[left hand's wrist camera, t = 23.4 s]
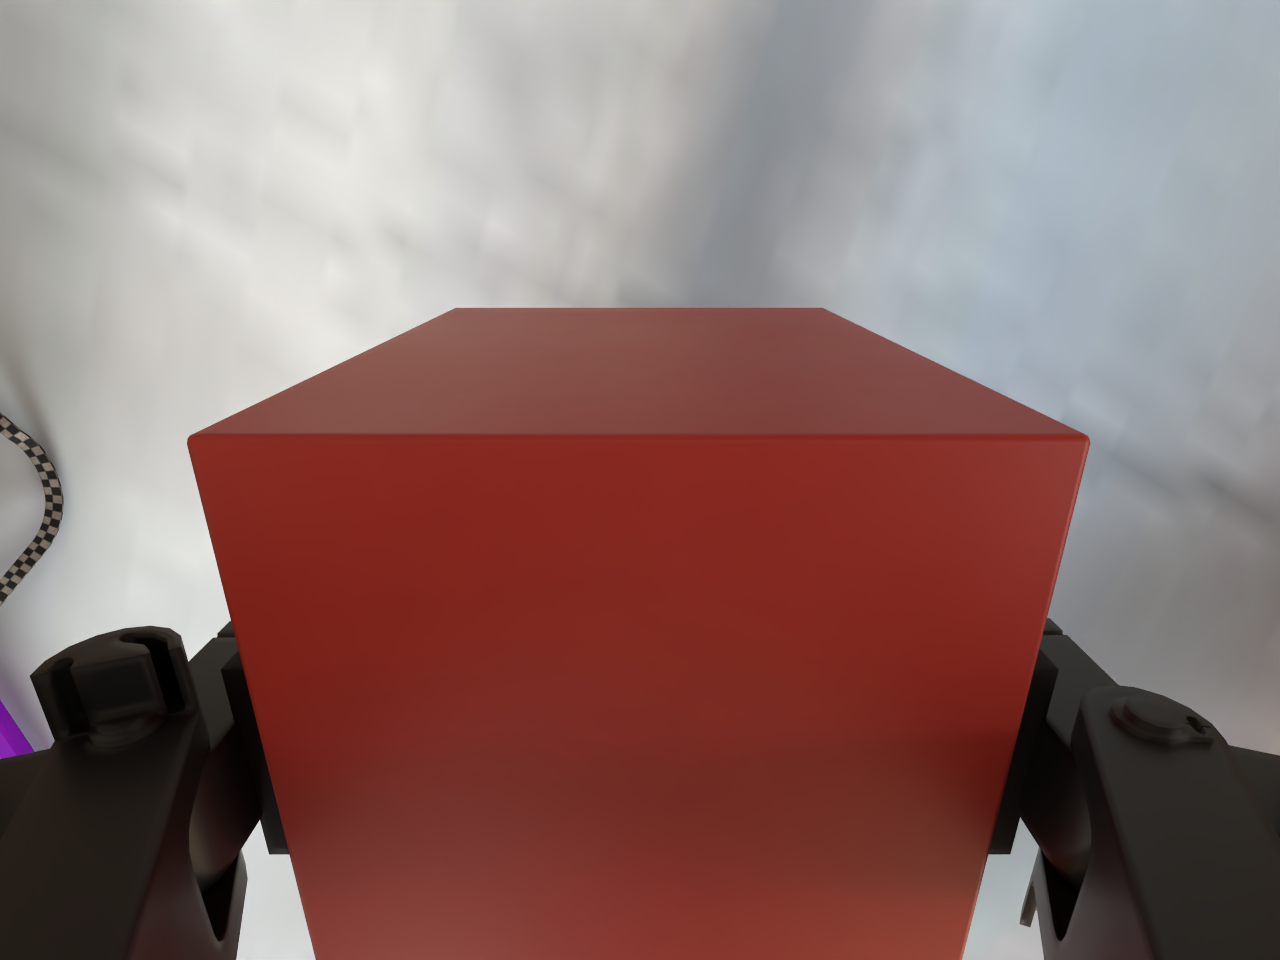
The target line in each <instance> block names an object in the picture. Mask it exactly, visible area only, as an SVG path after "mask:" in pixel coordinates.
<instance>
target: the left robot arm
mask: <svg viewBox="0 0 1280 960" xmlns="http://www.w3.org/2000/svg"><path fill="white" fill-rule="evenodd" d="M30 678H31V680H32V683H33V686H34V688H35V691H36V693H37V696H38V699H39V701H40V704H41V706H42V709H43V712H44V714H45V717H46V719H47V722H48V725H49V727H50V730H51V732H52V735H53V737H54V740H55V741H54V743H53V745H52V747H51V749H47V750H42V751H37V752H32V753H27V754H22V755H18V756H13V757H8V758H3V759H0V960H236V956H237V949H238V942H239V935H240V928H241V921H242V914H243V907H244V900H245V893H246V886H247V872H246V865H245V861H244V857H243V854H242V850H241V848H242V847H243V845H244V844H245V842H246V841H247V839H248V837H249V836H250V834H251V833H252V831H253V829H254V828H255V826H256V825H257V823H258V822H259V820H260V821H261V825H262V829H263V832H264V836H265V840H266V844H267V848H268V851H269V854H289V850H288V846H287V842H286V838H285V834H284V830H283V826H282V822H281V818H280V814H279V810H278V806H277V802H276V798H275V794H274V790H273V786H272V782H271V778H270V774H269V770H268V766H267V762H266V758H265V754H264V750H263V746H262V742H261V738H260V734H259V730H258V726H257V722H256V718H255V714H254V710H253V706H252V702H251V698H250V694H249V690H248V686H247V682H246V678H245V674H244V670H243V666H242V662H241V658H240V654H239V650H238V646H237V642H236V638H235V634H234V630H233V626H232V622H231V621H230V622H229V623H228V624H227V625H226V626H225V627H224V628H223V629H222V630H221V631H220V632H219V633H218V636H217V638H212V639H211V640H210V641H209V642H208V643H207V644H206V645H205V646H204V647H203V648H202V649H201V650H200V651H199V652H198V653H197V654H196V655H195V656H194V657H193V658H192V659H191V660H190V661H189V662H188V659H187V656H186V652H185V649H184V645H183V642H182V638H181V635H179V634H178V633H176V632H175V631H173V630H172V629H170V628H163V627H156V626H144V627H134V628H125V629H121V630H117V631H113V632H109V633H105V634H101V635H97V636H94V637H92V638H89V639H87V640H85V641H82V642H80V643H77V644H75V645H72V646H70V647H68V648H66V649H64V650H63V651H61V652H59V653H58V654H56V655H54V656H53V657H51V658H49V659H48V660H46V661H45V662H44V663H43V664H42V665H40V666H39V667H38V668H37V669H36V670H35V671H34V672H33V673H32V674H31V675H30ZM1020 817H1021V819H1022V820H1023V822H1024V823H1025V825H1026V827H1027V828H1028V830H1029V831H1030V833H1031V834H1032V836H1033V838H1034V839H1035V841H1036V842H1037V844H1038V845H1039V850H1038V854H1037V857H1036V861H1035V864H1034V868H1033V871H1032V875H1031V878H1030V882H1029V885H1028V889H1027V892H1026V896H1025V899H1024V903H1023V907H1022V912H1021V918H1020V924H1021V925H1025V926H1028V927H1030V926H1031V923H1032V919H1033V916H1034V912H1035V911H1036V910H1037V912H1038V919H1039V926H1040V933H1041V940H1042V947H1043V954H1044V960H1280V756H1279V755H1274V754H1269V753H1264V752H1259V751H1254V750H1249V749H1244V748H1239V747H1234V746H1230V745H1228V744H1227V742H1226V740H1225V739H1224V738H1223V736H1222V735H1221V734H1220V733H1219V732H1218V731H1217V729H1216V728H1215V727H1214V726H1213V725H1212V724H1211V723H1210V722H1209V721H1207V720H1206V719H1204V718H1203V717H1202V716H1200V715H1199V714H1197V713H1196V712H1194V711H1193V710H1192V709H1190V708H1188V707H1186V706H1184V705H1182V704H1180V703H1178V702H1176V701H1173V700H1171V699H1169V698H1167V697H1165V696H1163V695H1159V694H1156V693H1153V692H1149V691H1146V690H1142V689H1139V688H1135V687H1126V686H1119V685H1118V684H1117V683H1116V682H1115V681H1114V680H1112V679H1111V678H1110V677H1109V676H1108V675H1107V674H1106V673H1105V672H1104V671H1103V670H1102V669H1101V668H1100V667H1099V666H1098V665H1097V664H1096V663H1095V662H1094V661H1093V660H1092V659H1091V658H1090V657H1089V656H1088V655H1087V654H1086V653H1085V652H1084V651H1083V650H1082V649H1081V648H1080V647H1079V646H1078V645H1077V644H1075V643H1074V642H1073V641H1072V640H1071V639H1070V638H1069V637H1068V636H1067V635H1063V633H1062V630H1061V629H1060V628H1059V627H1058V626H1057V625H1056V624H1055V623H1054V622H1053V621H1052V620H1051V619H1050V618H1047V619H1046V623H1045V627H1044V631H1043V635H1042V639H1041V643H1040V647H1039V651H1038V655H1037V659H1036V663H1035V667H1034V671H1033V675H1032V679H1031V683H1030V687H1029V691H1028V696H1027V700H1026V704H1025V708H1024V712H1023V716H1022V720H1021V724H1020V728H1019V732H1018V736H1017V740H1016V744H1015V748H1014V752H1013V756H1012V760H1011V764H1010V768H1009V772H1008V776H1007V780H1006V784H1005V788H1004V792H1003V796H1002V800H1001V804H1000V808H999V812H998V816H997V820H996V824H995V828H994V832H993V836H992V840H991V845H990V849H989V853H988V854H1010V853H1011V849H1012V845H1013V842H1014V838H1015V834H1016V830H1017V827H1018V823H1019V819H1020Z"/></svg>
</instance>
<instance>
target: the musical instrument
mask: <svg viewBox="0 0 1280 960" xmlns="http://www.w3.org/2000/svg"><path fill="white" fill-rule="evenodd" d="M0 433H2V434H3V435H4V436H5V437H6V438H8V439H9V440H11V441H12V442H14V443H15V444H17V445H18V446H19V447H20V448H21V449H22V450H23V451H24V452H25V453H26V454H27V455H28V457H29V458H30V460H31V461H32V462H33V464H34V465H35V467H36V469H37V470H38V473H39V475H40V477H41V480H42V484H43V487H44V491H45V499H46V507H45V514H44V518H43V522H42V525H41V527H40V530H39V532H38V534H37V535H36V537H35V539H34V540H33V541H32V543H31V544H30V545H29V546H28V547H27V549H26V550H25V551H24V552H23V553H22V555H21V556H20V557H19V558H18V559H17V560H16V562H15V563H14V564H13V565H12V566H11V568H10V569H9V570H8V571H7V572H6V574H5V575H4V576H3V577H2V579H1V580H0V606H1V605H2V603H3V602H4V601H5V600H6V599H7V597H8V596H9V595H10V594H11V593H12V591H13V590H14V589H15V588H16V587H17V585H18V584H19V583H20V582H21V580H22V579H23V578H24V577H25V576H26V574H27V573H28V572H29V571H30V570H31V568H32V567H33V566H34V565H35V564H36V563H37V561H38V560H39V559H40V558H41V557H42V555H43V554H44V553H45V552H46V551H47V549H48V548H49V547H50V545H51V544H52V542H53V541H54V539H55V537H56V535H57V532H58V530H59V527H60V524H61V520H62V515H63V493H62V488H61V485H60V481H59V478H58V475H57V473H56V470H55V468H54V466H53V464H52V462H51V461H50V459H49V458H48V456H47V454H46V453H45V451H44V450H43V449H42V447H41V446H40V445H39V444H38V443H37V442H36V441H35V440H33V439H32V438H31V437H30V436H29V435H27V434H26V433H24V432H23V431H21V430H20V429H19V428H18V427H17V426H16V425H14V424H13V423H12V422H11V421H10V420H9V419H7V418H6V417H5V416H4V415H3V414H1V413H0ZM32 752H34V750H33V749H32V747H31V746H30V744H29V743H28V741H27V740H26V738H25V737H24V735H23V734H22V732H21V731H20V729H19V728H18V726H17V725H16V723H15V722H14V720H13V719H12V717H11V716H10V714H9V713H8V711H7V710H6V708H5V707H4V705H3V704H2V702H1V701H0V758H1V759H3V758H8V757H13V756H18V755H22V754H27V753H32Z"/></svg>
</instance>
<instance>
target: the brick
mask: <svg viewBox="0 0 1280 960" xmlns="http://www.w3.org/2000/svg"><path fill="white" fill-rule="evenodd" d="M187 445H188V449H189V454H190V458H191V462H192V466H193V470H194V474H195V478H196V482H197V486H198V490H199V494H200V498H201V502H202V506H203V510H204V514H205V518H206V522H207V526H208V530H209V534H210V538H211V542H212V546H213V550H214V554H215V558H216V562H217V566H218V570H219V574H220V578H221V582H222V586H223V590H224V594H225V598H226V602H227V606H228V610H229V614H230V618H231V622H232V626H233V630H234V634H235V638H236V642H237V646H238V650H239V654H240V658H241V662H242V666H243V670H244V674H245V678H246V682H247V686H248V690H249V694H250V698H251V702H252V706H253V710H254V714H255V718H256V722H257V726H258V730H259V734H260V738H261V742H262V746H263V750H264V754H265V758H266V762H267V766H268V770H269V774H270V778H271V782H272V786H273V790H274V794H275V798H276V802H277V806H278V810H279V814H280V818H281V822H282V826H283V830H284V834H285V838H286V842H287V846H288V850H289V854H290V858H291V862H292V866H293V870H294V874H295V878H296V882H297V886H298V890H299V894H300V898H301V902H302V906H303V910H304V914H305V918H306V922H307V926H308V930H309V934H310V938H311V942H312V946H313V950H314V954H315V958H316V960H962V957H963V953H964V949H965V945H966V941H967V937H968V933H969V929H970V925H971V921H972V917H973V913H974V909H975V905H976V901H977V897H978V893H979V889H980V885H981V881H982V877H983V873H984V869H985V865H986V861H987V857H988V853H989V849H990V845H991V840H992V836H993V832H994V828H995V824H996V820H997V816H998V812H999V808H1000V804H1001V800H1002V796H1003V792H1004V788H1005V784H1006V780H1007V776H1008V772H1009V768H1010V764H1011V760H1012V756H1013V752H1014V748H1015V744H1016V740H1017V736H1018V732H1019V728H1020V724H1021V720H1022V716H1023V712H1024V708H1025V704H1026V700H1027V696H1028V691H1029V687H1030V683H1031V679H1032V675H1033V671H1034V667H1035V663H1036V659H1037V655H1038V651H1039V647H1040V643H1041V639H1042V635H1043V631H1044V627H1045V623H1046V619H1047V615H1048V611H1049V607H1050V603H1051V599H1052V595H1053V591H1054V587H1055V583H1056V579H1057V575H1058V571H1059V567H1060V563H1061V559H1062V555H1063V551H1064V546H1065V542H1066V538H1067V534H1068V530H1069V526H1070V522H1071V518H1072V514H1073V510H1074V506H1075V502H1076V498H1077V494H1078V490H1079V486H1080V482H1081V478H1082V474H1083V470H1084V466H1085V462H1086V458H1087V454H1088V450H1089V446H1090V440H1089V437H1088V436H1087V435H1085V434H1083V433H1081V432H1079V431H1077V430H1075V429H1073V428H1071V427H1068V426H1066V425H1064V424H1062V423H1060V422H1058V421H1056V420H1054V419H1052V418H1050V417H1048V416H1046V415H1044V414H1041V413H1039V412H1037V411H1035V410H1033V409H1031V408H1029V407H1027V406H1025V405H1023V404H1021V403H1019V402H1017V401H1014V400H1012V399H1010V398H1008V397H1006V396H1004V395H1002V394H1000V393H998V392H996V391H994V390H992V389H990V388H988V387H985V386H983V385H981V384H979V383H977V382H975V381H973V380H971V379H969V378H967V377H965V376H963V375H961V374H958V373H956V372H954V371H952V370H950V369H948V368H946V367H944V366H942V365H940V364H938V363H936V362H934V361H931V360H929V359H927V358H925V357H923V356H921V355H919V354H917V353H915V352H913V351H911V350H909V349H907V348H905V347H902V346H900V345H898V344H896V343H894V342H892V341H890V340H888V339H886V338H884V337H882V336H880V335H878V334H875V333H873V332H871V331H869V330H867V329H865V328H863V327H861V326H859V325H857V324H855V323H853V322H851V321H848V320H846V319H844V318H842V317H840V316H838V315H836V314H834V313H832V312H830V311H828V310H826V309H823V308H455V309H453V310H451V311H449V312H446V313H444V314H442V315H440V316H438V317H436V318H434V319H432V320H430V321H428V322H426V323H424V324H421V325H419V326H417V327H415V328H413V329H411V330H409V331H407V332H405V333H403V334H401V335H399V336H396V337H394V338H392V339H390V340H388V341H386V342H384V343H382V344H380V345H378V346H376V347H374V348H371V349H369V350H367V351H365V352H363V353H361V354H359V355H357V356H355V357H353V358H351V359H349V360H347V361H344V362H342V363H340V364H338V365H336V366H334V367H332V368H330V369H328V370H326V371H324V372H322V373H319V374H317V375H315V376H313V377H311V378H309V379H307V380H305V381H303V382H301V383H299V384H297V385H294V386H292V387H290V388H288V389H286V390H284V391H282V392H280V393H278V394H276V395H274V396H272V397H269V398H267V399H265V400H263V401H261V402H259V403H257V404H255V405H253V406H251V407H249V408H247V409H244V410H242V411H240V412H238V413H236V414H234V415H232V416H230V417H228V418H226V419H224V420H222V421H220V422H217V423H215V424H213V425H211V426H209V427H207V428H205V429H203V430H201V431H199V432H197V433H195V434H192V435H190V436H189V438H188V441H187Z"/></svg>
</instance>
